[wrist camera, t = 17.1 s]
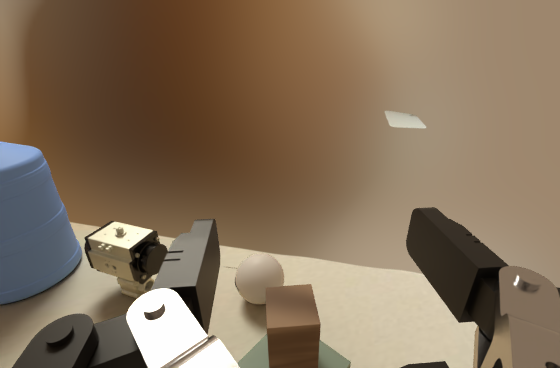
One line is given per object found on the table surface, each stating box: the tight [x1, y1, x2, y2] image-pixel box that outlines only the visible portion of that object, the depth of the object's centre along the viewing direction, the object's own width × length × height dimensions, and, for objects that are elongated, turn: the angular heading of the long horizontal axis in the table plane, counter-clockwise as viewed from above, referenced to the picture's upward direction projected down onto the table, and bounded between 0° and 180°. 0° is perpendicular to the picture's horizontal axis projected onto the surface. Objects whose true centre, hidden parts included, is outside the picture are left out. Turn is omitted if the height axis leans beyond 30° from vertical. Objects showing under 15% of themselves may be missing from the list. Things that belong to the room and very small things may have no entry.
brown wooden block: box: [265, 284, 320, 368], centre depth 31 cm, size 5×5×10 cm
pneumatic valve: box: [85, 221, 168, 299], centre depth 43 cm, size 6×12×12 cm, turn 70°
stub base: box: [237, 334, 351, 368], centre depth 32 cm, size 10×10×8 cm
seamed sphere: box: [228, 253, 284, 304], centre depth 44 cm, size 10×7×7 cm
